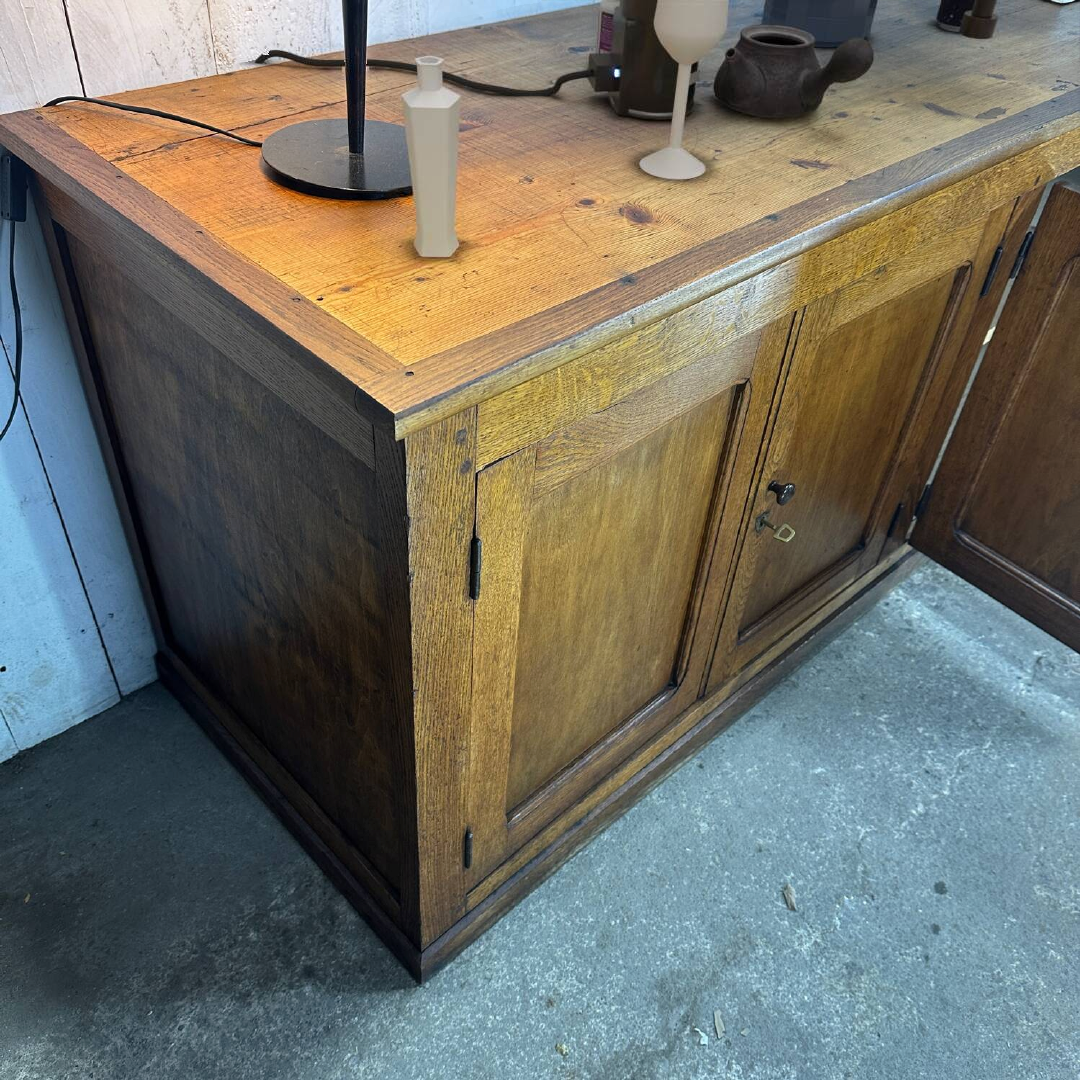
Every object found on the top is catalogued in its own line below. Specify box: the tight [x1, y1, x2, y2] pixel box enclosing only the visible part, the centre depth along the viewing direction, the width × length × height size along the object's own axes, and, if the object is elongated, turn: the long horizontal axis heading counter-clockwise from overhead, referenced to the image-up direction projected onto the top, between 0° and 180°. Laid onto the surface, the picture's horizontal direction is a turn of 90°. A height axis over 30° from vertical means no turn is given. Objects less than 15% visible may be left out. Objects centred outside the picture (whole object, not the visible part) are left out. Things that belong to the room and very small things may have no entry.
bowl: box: [760, 0, 879, 48], centre depth 134 cm, size 15×15×6 cm
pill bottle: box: [595, 0, 620, 53], centre depth 119 cm, size 5×5×10 cm
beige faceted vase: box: [400, 55, 462, 258], centre depth 79 cm, size 5×4×15 cm
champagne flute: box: [638, 0, 730, 180], centre depth 91 cm, size 7×7×24 cm
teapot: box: [713, 24, 875, 119], centre depth 108 cm, size 19×15×10 cm
